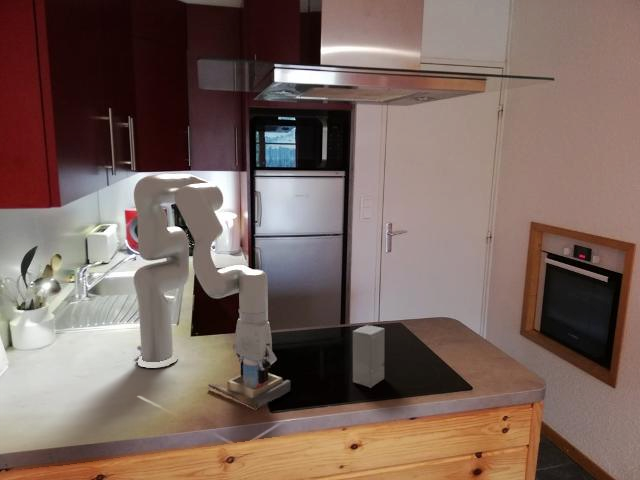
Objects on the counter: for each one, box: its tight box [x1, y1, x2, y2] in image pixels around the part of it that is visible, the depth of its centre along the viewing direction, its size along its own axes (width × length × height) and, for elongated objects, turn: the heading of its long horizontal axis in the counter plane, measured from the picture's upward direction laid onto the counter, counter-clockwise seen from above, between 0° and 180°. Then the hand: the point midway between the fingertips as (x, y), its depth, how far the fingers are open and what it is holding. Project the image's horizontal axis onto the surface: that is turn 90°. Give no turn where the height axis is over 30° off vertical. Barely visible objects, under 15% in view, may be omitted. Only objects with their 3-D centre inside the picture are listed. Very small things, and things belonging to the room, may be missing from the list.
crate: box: [227, 372, 283, 399], centre depth 140 cm, size 11×11×4 cm
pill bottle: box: [243, 357, 266, 390], centre depth 139 cm, size 6×6×11 cm
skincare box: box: [352, 324, 386, 389], centre depth 149 cm, size 8×7×16 cm
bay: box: [207, 379, 291, 409], centre depth 142 cm, size 18×14×4 cm
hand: (254, 377), depth 140 cm, fingers closed on pill bottle, 6 cm apart
